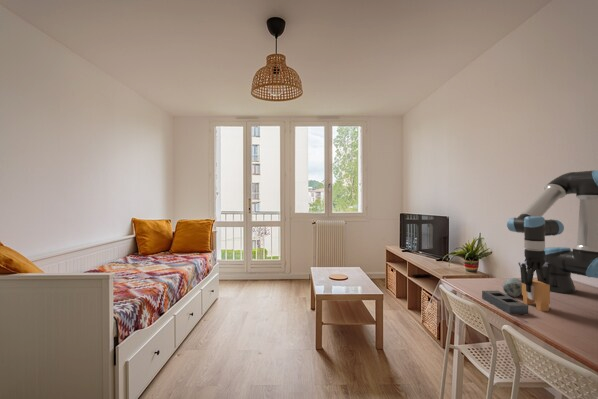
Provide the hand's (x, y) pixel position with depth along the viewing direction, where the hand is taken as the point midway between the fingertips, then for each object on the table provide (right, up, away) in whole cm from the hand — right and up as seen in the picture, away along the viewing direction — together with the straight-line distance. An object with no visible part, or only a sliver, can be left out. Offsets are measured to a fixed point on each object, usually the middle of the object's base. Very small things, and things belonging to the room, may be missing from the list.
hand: (535, 298), depth 134 cm
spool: (+3, -4, +17) cm, 18 cm away
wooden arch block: (0, -4, 0) cm, 4 cm away
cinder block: (-14, -4, +1) cm, 14 cm away
